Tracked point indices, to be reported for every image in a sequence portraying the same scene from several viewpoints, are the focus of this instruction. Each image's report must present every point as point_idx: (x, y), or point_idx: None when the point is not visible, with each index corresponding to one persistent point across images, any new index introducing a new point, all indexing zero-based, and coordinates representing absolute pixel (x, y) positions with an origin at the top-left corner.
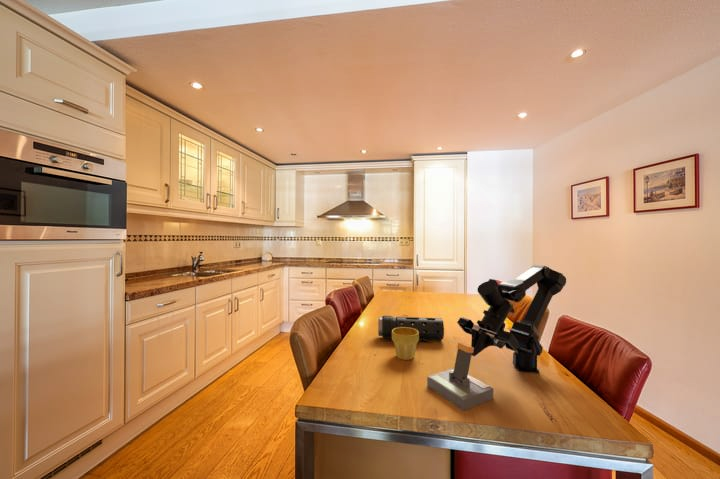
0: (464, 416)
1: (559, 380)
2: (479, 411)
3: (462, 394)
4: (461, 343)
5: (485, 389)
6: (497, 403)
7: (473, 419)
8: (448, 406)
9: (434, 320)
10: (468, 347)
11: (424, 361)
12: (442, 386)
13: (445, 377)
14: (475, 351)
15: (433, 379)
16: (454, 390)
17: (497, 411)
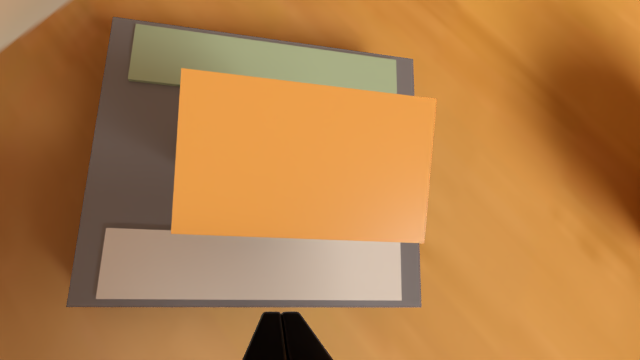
0: (100, 21)
1: None
2: (75, 116)
3: (148, 48)
4: (393, 140)
5: (94, 236)
6: (48, 277)
7: (55, 35)
8: (203, 28)
9: None
10: (187, 71)
11: (607, 280)
12: (288, 42)
13: None
14: (244, 358)
15: (369, 58)
16: (209, 48)
17: (3, 201)
